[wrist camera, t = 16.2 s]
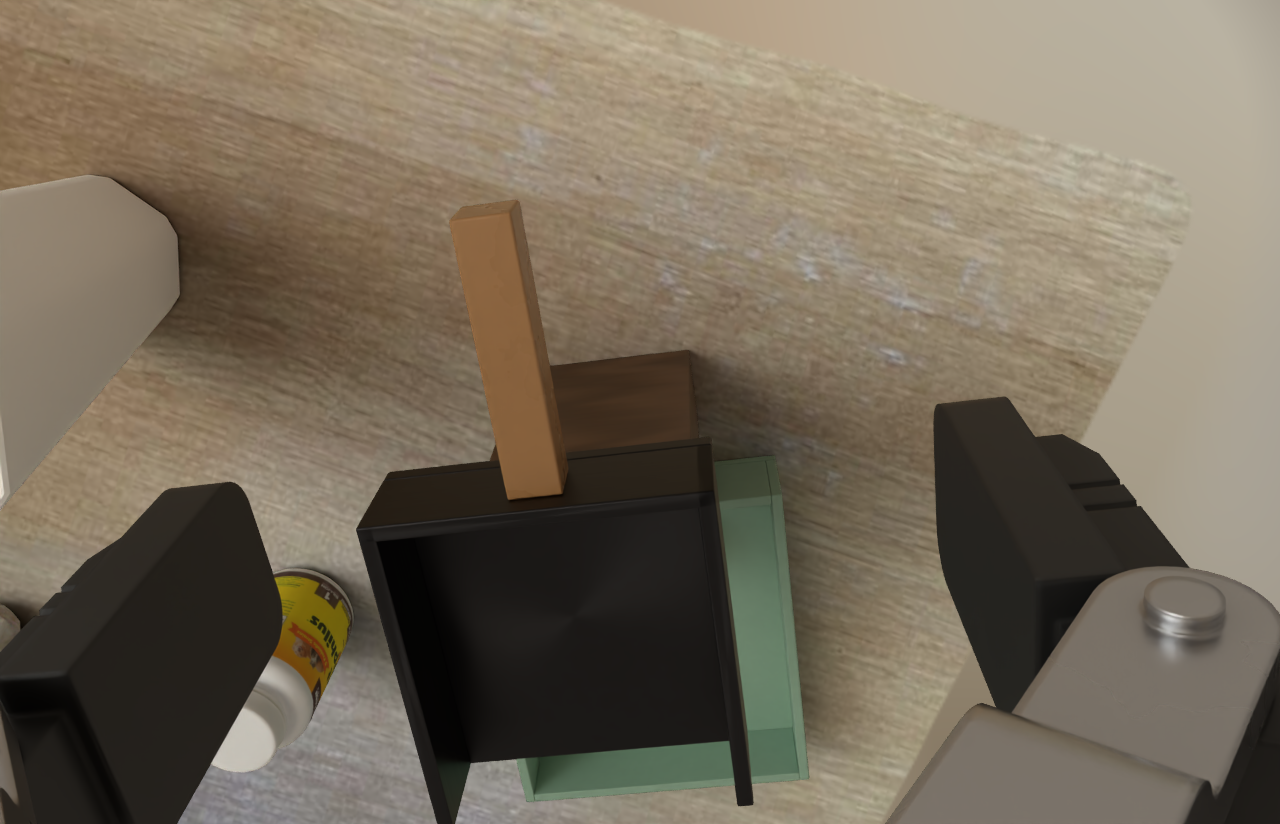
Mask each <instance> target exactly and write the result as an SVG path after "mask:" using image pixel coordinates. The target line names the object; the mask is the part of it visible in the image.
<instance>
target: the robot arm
mask: <svg viewBox="0 0 1280 824" xmlns="http://www.w3.org/2000/svg"><path fill="white" fill-rule="evenodd" d="M934 459H935V490H936V521H937V538H938V547H939V554H940V559H941V564H942V569H943V573H944V577H945V580H946V583H947V586H948V589H949V591H950V594H951V596H952V599H953V601H954V604H955V606H956V609H957V611H958V613H959V616H960V618H961V621H962V623H963V626H964V628H965V631H966V633H967V636H968V638H969V641H970V643H971V646H972V648H973V651H974V653H975V656H976V658H977V661H978V663H979V666H980V668H981V671H982V673H983V676H984V678H985V681H986V683H987V686H988V688H989V690H990V693H991V696H992V698H993V701H994V703H995V706H996V707H993V706H990V705H987V704H984V703H980V704H977V705H975V706H973V707H972V708H971V709H969V710H968V711H967V712H966V713H965V714H964V716H963V717H962V718H961V719H960V721H959V722H958V724H957V725H956V726H955V728H954V729H953V730H952V732H951V733H950V735H949V736H948V737H947V739H946V740H945V741H944V743H943V744H942V746H941V747H940V748H939V750H938V751H937V753H936V754H935V755H934V757H933V758H932V759H931V761H930V762H929V764H928V765H927V766H926V768H925V769H924V771H923V772H922V773H921V775H920V776H919V777H918V779H917V780H916V782H915V783H914V784H913V786H912V787H911V789H910V790H909V791H908V793H907V794H906V795H905V797H904V798H903V800H902V801H901V802H900V804H899V805H898V807H897V808H896V809H895V811H894V812H893V813H892V815H891V816H890V818H889V819H888V820H887V822H886V823H885V824H1280V614H1279V612H1278V611H1277V610H1276V609H1275V607H1274V606H1273V605H1272V604H1271V603H1270V602H1269V601H1268V600H1267V599H1266V598H1264V597H1263V596H1262V595H1260V594H1259V593H1257V592H1256V591H1255V590H1253V589H1251V588H1250V587H1248V586H1246V585H1244V584H1242V583H1240V582H1237V581H1235V580H1233V579H1230V578H1227V577H1225V576H1222V575H1218V574H1215V573H1211V572H1208V571H1202V570H1197V569H1192V568H1189V566H1188V565H1187V564H1186V563H1185V561H1184V560H1183V559H1182V558H1181V556H1180V555H1179V554H1178V553H1177V552H1176V550H1175V549H1174V548H1173V546H1172V545H1171V544H1170V543H1169V541H1168V540H1167V539H1166V538H1165V536H1164V535H1163V534H1162V532H1161V531H1160V530H1159V529H1158V528H1157V526H1156V525H1155V524H1154V522H1153V521H1152V520H1151V519H1150V517H1149V516H1148V515H1147V513H1146V512H1145V511H1144V510H1143V508H1142V507H1141V506H1137V504H1136V500H1135V498H1134V497H1133V496H1132V495H1131V493H1130V492H1129V491H1128V489H1127V488H1126V487H1125V486H1124V485H1120V479H1119V478H1118V477H1117V476H1116V474H1115V473H1114V472H1113V471H1112V469H1111V468H1110V467H1109V466H1108V464H1107V463H1106V462H1105V460H1104V459H1103V458H1102V457H1101V455H1100V454H1099V453H1097V452H1095V451H1093V450H1091V449H1089V448H1087V447H1085V446H1083V445H1082V444H1080V443H1078V442H1076V441H1074V440H1072V439H1070V438H1068V437H1066V436H1065V435H1063V434H1059V435H1050V436H1041V437H1035V436H1034V435H1033V433H1032V432H1031V430H1030V429H1029V428H1028V426H1027V425H1026V423H1025V422H1024V420H1023V419H1022V417H1021V416H1020V415H1019V413H1018V412H1017V410H1016V409H1015V407H1014V406H1013V404H1012V403H1011V402H1010V400H1009V399H1008V398H1007V397H996V398H987V399H978V400H969V401H961V402H952V403H943V404H937V405H936V407H935V411H934ZM61 589H62V591H61V593H55V595H54V596H53V597H52V598H51V599H50V600H49V601H48V602H47V603H46V604H45V605H44V606H43V607H42V608H41V609H40V610H39V611H40V616H34V617H33V618H32V619H31V620H30V621H29V622H28V623H27V624H26V625H25V626H24V627H23V628H22V629H21V631H20V632H19V633H18V634H17V635H16V636H15V637H14V638H13V639H12V640H11V641H10V642H9V643H8V644H7V645H6V646H5V647H4V649H3V650H2V651H1V652H0V824H177V823H178V821H179V819H180V817H181V816H182V814H183V812H184V810H185V809H186V807H187V805H188V803H189V802H190V800H191V798H192V796H193V794H194V793H195V791H196V789H197V787H198V786H199V784H200V782H201V780H202V779H203V777H204V775H205V773H206V771H207V770H208V768H209V766H210V764H211V763H212V761H213V759H214V757H215V756H216V754H217V752H218V750H219V749H220V747H221V745H222V743H223V741H224V740H225V738H226V736H227V734H228V733H229V731H230V729H231V727H232V726H233V724H234V722H235V720H236V718H237V717H238V715H239V713H240V711H241V710H242V708H243V706H244V704H245V703H246V701H247V699H248V697H249V696H250V694H251V692H252V690H253V688H254V687H255V685H256V683H257V681H258V680H259V678H260V676H261V674H262V673H263V671H264V669H265V667H266V666H267V664H268V662H269V660H270V658H271V657H272V655H273V653H274V651H275V650H276V648H277V645H278V643H279V640H280V636H281V631H282V621H283V613H282V602H281V597H280V593H279V590H278V587H277V584H276V581H275V578H274V575H273V572H272V569H271V566H270V563H269V560H268V557H267V554H266V551H265V548H264V545H263V542H262V539H261V536H260V533H259V530H258V527H257V524H256V521H255V518H254V515H253V512H252V509H251V506H250V503H249V501H248V498H247V496H246V494H245V492H244V491H243V490H242V488H241V487H240V486H239V485H237V484H236V483H233V482H225V483H216V484H207V485H198V486H189V487H180V488H171V489H168V490H166V491H164V492H163V493H162V494H161V495H160V496H159V497H158V498H157V499H156V500H155V501H154V503H153V504H152V505H151V506H150V507H149V508H148V509H147V510H146V511H145V512H144V513H143V514H142V516H141V517H140V518H139V519H138V520H137V521H136V522H135V523H134V524H133V525H132V526H131V527H130V529H129V530H128V531H127V532H126V533H125V534H124V535H123V536H122V537H121V538H120V539H118V540H117V541H115V542H114V543H112V544H111V545H109V546H108V547H106V548H105V549H103V550H102V551H100V552H98V553H97V554H95V555H94V556H92V557H91V558H89V559H88V560H87V561H86V562H85V563H84V564H83V565H82V566H81V567H80V568H79V569H78V570H77V571H76V572H75V573H74V574H73V575H72V577H71V578H70V579H69V580H68V581H67V582H66V583H65V584H64V585H63V586H62V587H61Z"/></svg>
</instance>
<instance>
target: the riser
mask: <svg viewBox="0 0 1280 824" xmlns="http://www.w3.org/2000/svg"><path fill="white" fill-rule="evenodd" d="M550 371H551V376H552V382H553V387H554V393H555V398H556V403H557V409H558V414H559V420H560V425H561V431H562V436H563V442H564V447H565V453H566V452H576V451H585V450H594V449H603V448H612V447H621V446H630V445H639V444H648V443H657V442H666V441H675V440H684V439H693V438H699V424H698V416H697V408H696V400H695V393H694V385H693V377H692V369H691V362H690V354H689V350H684V351H675V352H667V353H658V354H650V355H641V356H633V357H624V358H616V359H607V360H599V361H590V362H582V363H573V364H565V365H557V366H550ZM494 460H499V456H498V452H497V447H496V445H495V447H494V450H493V453H492V456H491V459H490V461H494Z"/></svg>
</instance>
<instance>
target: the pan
mask: <svg viewBox="0 0 1280 824" xmlns="http://www.w3.org/2000/svg"><path fill="white" fill-rule="evenodd" d="M449 223H450V228H451V233H452V238H453V242H454V247H455V252H456V257H457V261H458V266H459V271H460V276H461V280H462V285H463V290H464V295H465V299H466V304H467V309H468V314H469V318H470V323H471V328H472V333H473V337H474V342H475V347H476V352H477V356H478V361H479V366H480V371H481V375H482V380H483V385H484V390H485V394H486V399H487V404H488V409H489V413H490V418H491V423H492V428H493V433H494V437H495V442H496V447H497V452H498V456H499V460H494V461H485V462H476V463H467V464H458V465H449V466H440V467H431V468H422V469H413V470H404V471H395V472H389V473H388V474H387V476H386V478H385V480H384V481H383V483H382V485H381V486H380V488H379V490H378V492H377V493H376V495H375V497H374V499H373V500H372V502H371V504H370V506H369V507H368V509H367V511H366V513H365V514H364V516H363V518H362V520H361V521H360V523H359V525H358V527H357V528H356V531H357V535H358V538H359V542H360V545H361V549H362V553H363V556H364V560H365V564H366V567H367V571H368V574H369V578H370V582H371V585H372V589H373V593H374V596H375V600H376V603H377V607H378V611H379V614H380V618H381V622H382V625H383V629H384V632H385V636H386V640H387V643H388V647H389V650H390V654H391V658H392V661H393V665H394V669H395V672H396V676H397V679H398V683H399V687H400V690H401V694H402V698H403V701H404V705H405V708H406V712H407V716H408V719H409V723H410V727H411V730H412V734H413V737H414V741H415V745H416V748H417V752H418V756H419V759H420V763H421V766H422V770H423V774H424V777H425V781H426V785H427V788H428V792H429V795H430V799H431V803H432V806H433V810H434V814H435V817H436V821H437V824H455V821H456V817H457V813H458V810H459V806H460V802H461V798H462V794H463V791H464V787H465V783H466V779H467V775H468V772H469V768H470V764H471V763H477V762H489V761H500V760H512V759H524V758H536V757H547V756H559V755H571V754H582V753H594V752H606V751H618V750H629V749H641V748H653V747H664V746H676V745H688V744H700V743H711V742H723V741H729V745H730V752H731V760H732V767H733V775H734V782H735V790H736V797H737V804H738V806H749V805H753V803H754V802H753V790H752V779H751V767H750V755H749V743H748V731H747V722H746V714H745V706H744V698H743V690H742V682H741V674H740V665H739V657H738V649H737V641H736V633H735V625H734V617H733V609H732V601H731V593H730V585H729V576H728V568H727V560H726V552H725V544H724V536H723V528H722V520H721V512H720V504H719V496H718V488H717V479H716V471H715V463H714V455H713V447H712V439H711V437H702V438H693V439H684V440H675V441H666V442H657V443H648V444H639V445H630V446H621V447H612V448H603V449H594V450H585V451H576V452H566V453H565V447H564V442H563V436H562V431H561V425H560V420H559V414H558V409H557V403H556V398H555V393H554V387H553V382H552V376H551V371H550V365H549V360H548V354H547V349H546V343H545V338H544V333H543V327H542V322H541V316H540V311H539V305H538V300H537V294H536V289H535V283H534V278H533V272H532V267H531V262H530V256H529V251H528V245H527V240H526V234H525V229H524V223H523V218H522V212H521V207H520V202H519V201H518V200H510V201H503V202H495V203H488V204H480V205H473V206H465V207H462V208H460V209H459V211H458V212H457V213H456V214H455V215H454V216H453V217H452V218H451V220H450V222H449Z"/></svg>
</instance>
